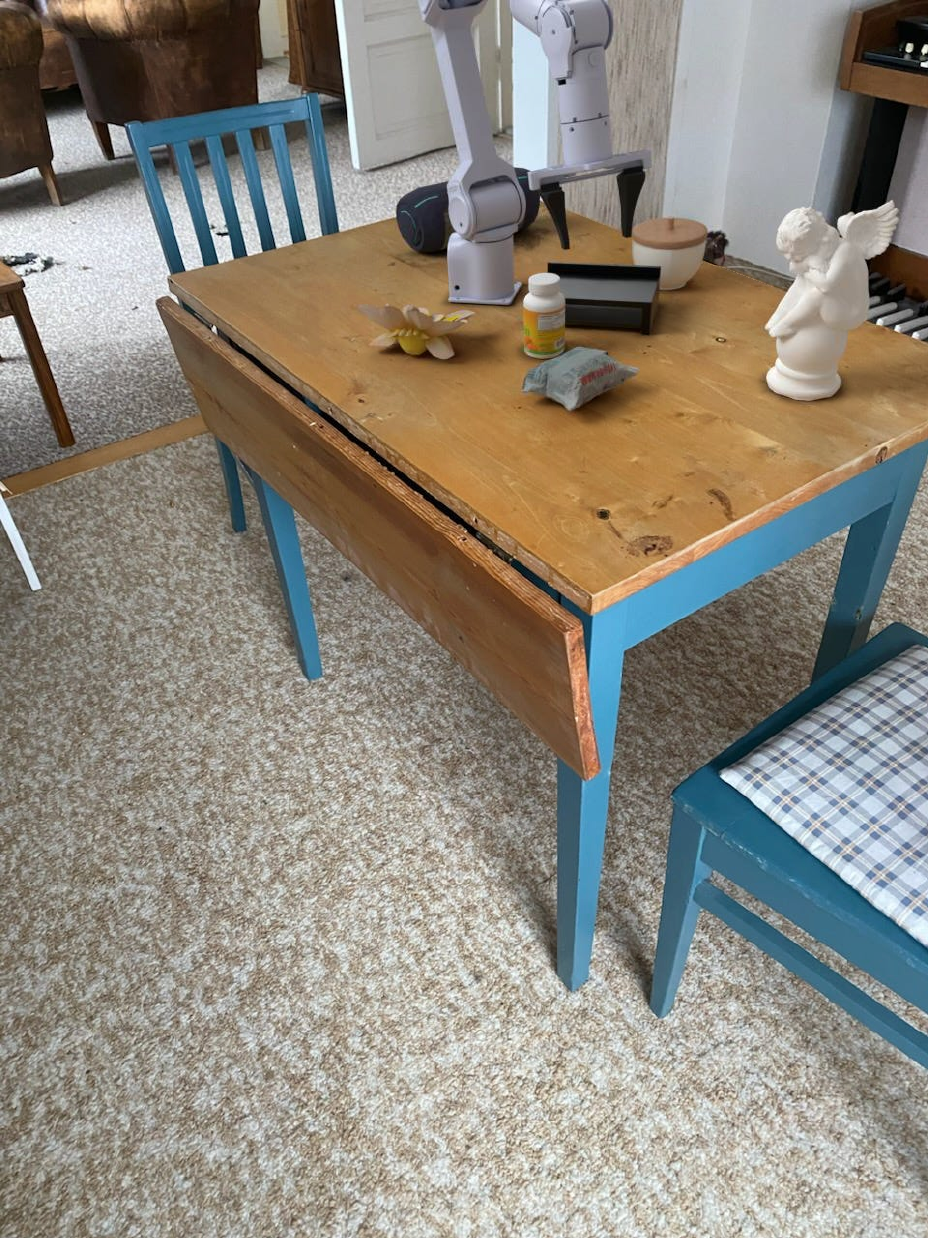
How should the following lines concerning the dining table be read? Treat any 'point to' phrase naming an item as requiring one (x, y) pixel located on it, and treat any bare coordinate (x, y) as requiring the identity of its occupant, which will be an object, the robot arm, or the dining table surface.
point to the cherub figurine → (823, 295)
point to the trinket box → (670, 248)
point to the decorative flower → (415, 328)
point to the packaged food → (577, 376)
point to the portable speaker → (446, 213)
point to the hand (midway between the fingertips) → (596, 242)
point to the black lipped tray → (609, 294)
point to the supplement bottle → (544, 317)
